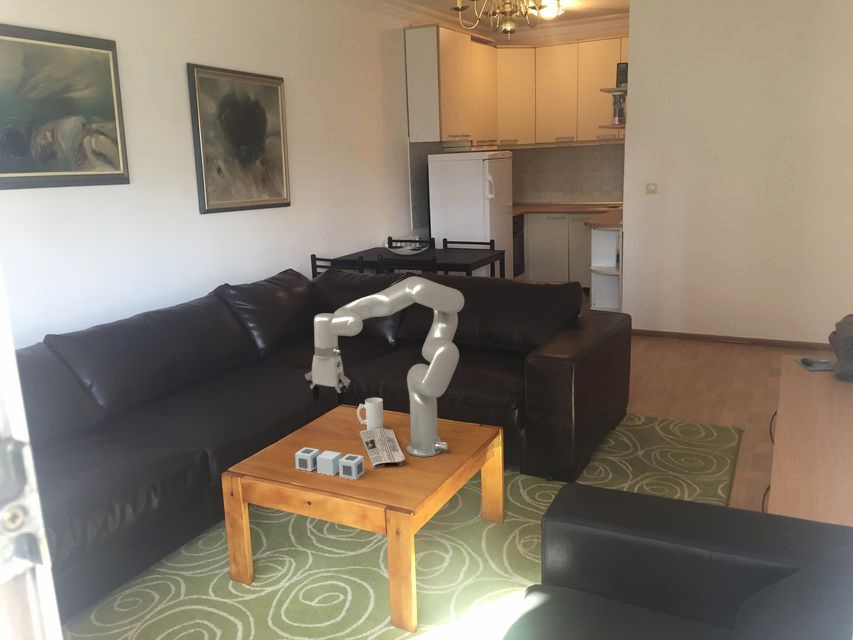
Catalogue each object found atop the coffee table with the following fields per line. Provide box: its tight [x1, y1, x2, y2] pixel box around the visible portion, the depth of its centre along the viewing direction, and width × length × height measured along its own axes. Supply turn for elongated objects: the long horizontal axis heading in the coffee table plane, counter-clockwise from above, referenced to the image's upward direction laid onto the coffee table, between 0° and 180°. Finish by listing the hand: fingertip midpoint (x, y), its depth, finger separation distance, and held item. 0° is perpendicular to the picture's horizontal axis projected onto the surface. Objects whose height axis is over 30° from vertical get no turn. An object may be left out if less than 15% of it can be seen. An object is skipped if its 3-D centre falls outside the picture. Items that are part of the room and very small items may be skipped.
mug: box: [356, 397, 384, 430], centre depth 284 cm, size 10×7×12 cm, turn 98°
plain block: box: [316, 450, 343, 477], centre depth 246 cm, size 6×6×6 cm
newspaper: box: [359, 427, 406, 469], centre depth 265 cm, size 35×12×4 cm, turn 13°
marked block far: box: [294, 446, 321, 471], centre depth 250 cm, size 6×6×6 cm
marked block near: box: [338, 453, 365, 481], centre depth 243 cm, size 6×6×6 cm
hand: (327, 401), depth 244 cm, fingers open, 9 cm apart
